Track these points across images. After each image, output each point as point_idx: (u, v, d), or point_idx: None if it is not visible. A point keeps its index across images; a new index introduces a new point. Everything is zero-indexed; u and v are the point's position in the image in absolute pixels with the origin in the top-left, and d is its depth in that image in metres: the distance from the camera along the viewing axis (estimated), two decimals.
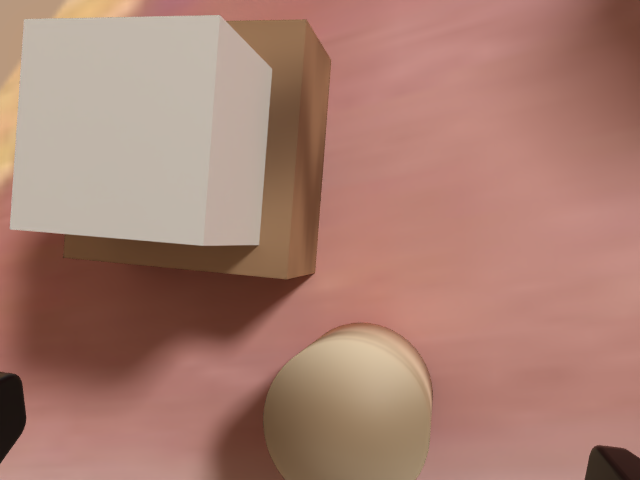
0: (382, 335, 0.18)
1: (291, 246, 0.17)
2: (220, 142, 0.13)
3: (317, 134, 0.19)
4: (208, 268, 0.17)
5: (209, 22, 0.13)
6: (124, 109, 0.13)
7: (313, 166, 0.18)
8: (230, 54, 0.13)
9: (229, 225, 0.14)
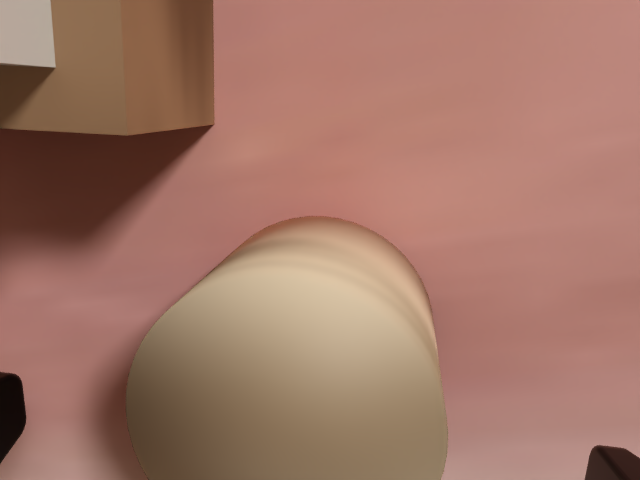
0: (349, 243, 0.10)
1: (132, 62, 0.08)
2: None
3: None
4: None
5: None
6: None
7: None
8: None
9: None
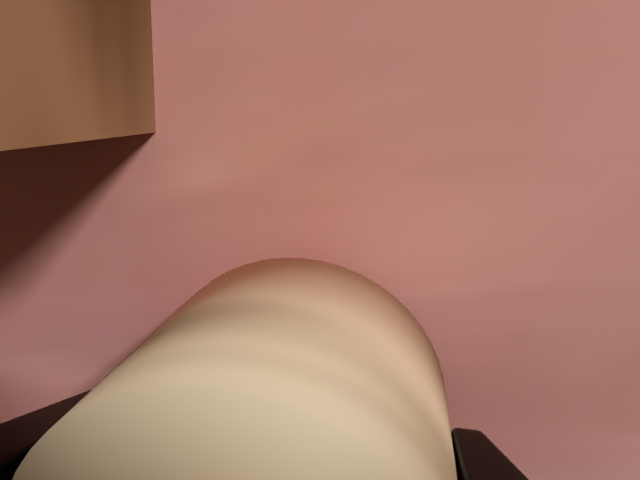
0: (332, 305, 0.07)
1: None
2: None
3: None
4: None
5: None
6: None
7: None
8: None
9: None
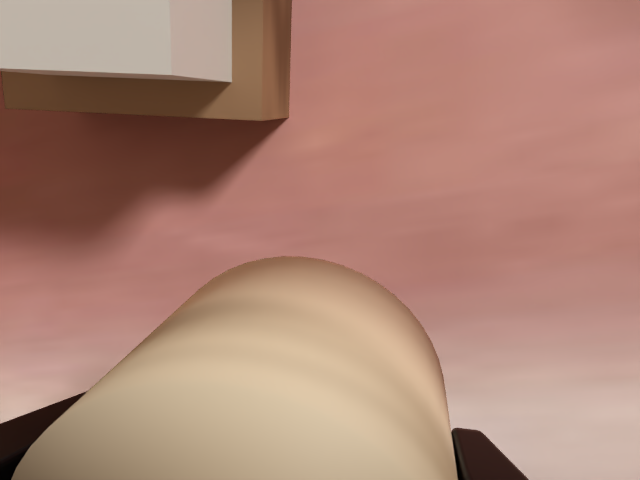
0: (332, 303, 0.07)
1: (264, 83, 0.15)
2: None
3: None
4: (173, 112, 0.15)
5: None
6: None
7: None
8: None
9: (197, 53, 0.12)
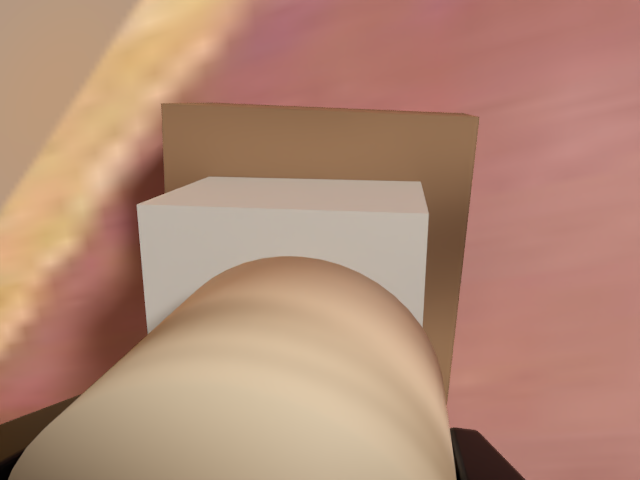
0: (330, 303, 0.07)
1: None
2: None
3: None
4: None
5: (412, 221, 0.09)
6: None
7: None
8: None
9: None
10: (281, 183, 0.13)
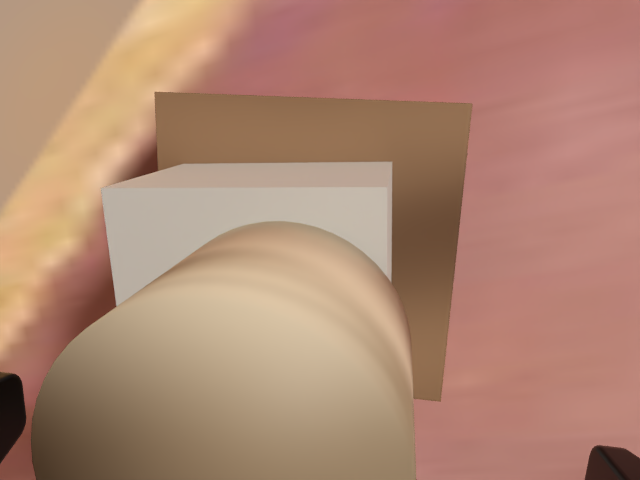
0: (304, 252, 0.08)
1: None
2: None
3: None
4: None
5: (372, 195, 0.10)
6: None
7: None
8: (388, 214, 0.10)
9: None
10: (252, 167, 0.13)
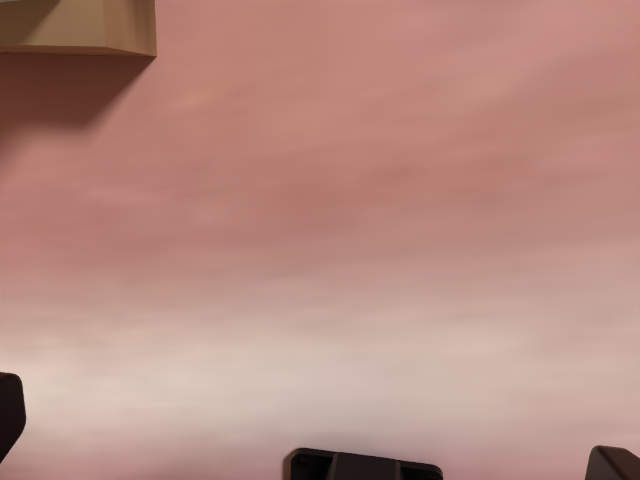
0: None
1: (107, 13, 0.17)
2: None
3: None
4: (29, 41, 0.17)
5: None
6: None
7: None
8: None
9: None
10: None
